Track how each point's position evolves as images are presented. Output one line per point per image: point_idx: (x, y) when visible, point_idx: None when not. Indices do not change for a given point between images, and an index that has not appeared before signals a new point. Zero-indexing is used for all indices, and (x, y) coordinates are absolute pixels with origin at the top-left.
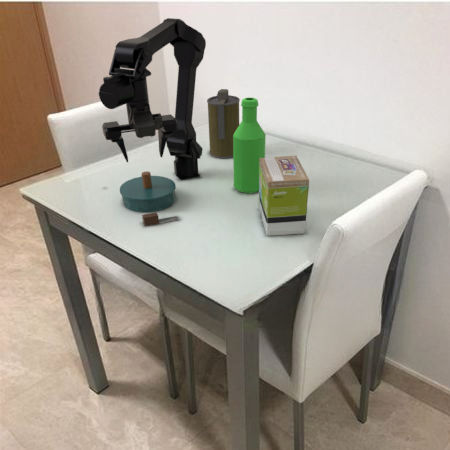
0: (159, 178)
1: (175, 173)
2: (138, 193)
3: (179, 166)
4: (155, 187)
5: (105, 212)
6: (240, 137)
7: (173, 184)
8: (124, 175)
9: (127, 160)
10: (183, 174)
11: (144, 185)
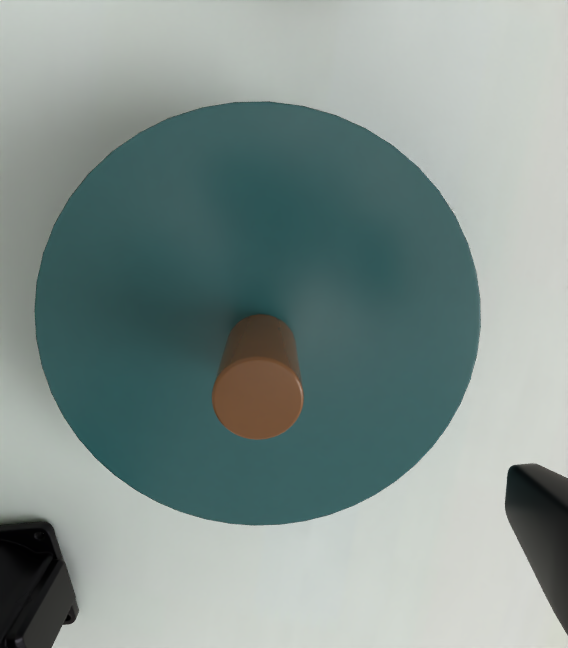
0: (156, 463)
1: (67, 586)
2: (351, 243)
3: (6, 613)
4: (201, 317)
5: (556, 226)
6: None
7: (51, 332)
8: (353, 641)
9: (542, 474)
10: (15, 559)
11: (287, 331)
